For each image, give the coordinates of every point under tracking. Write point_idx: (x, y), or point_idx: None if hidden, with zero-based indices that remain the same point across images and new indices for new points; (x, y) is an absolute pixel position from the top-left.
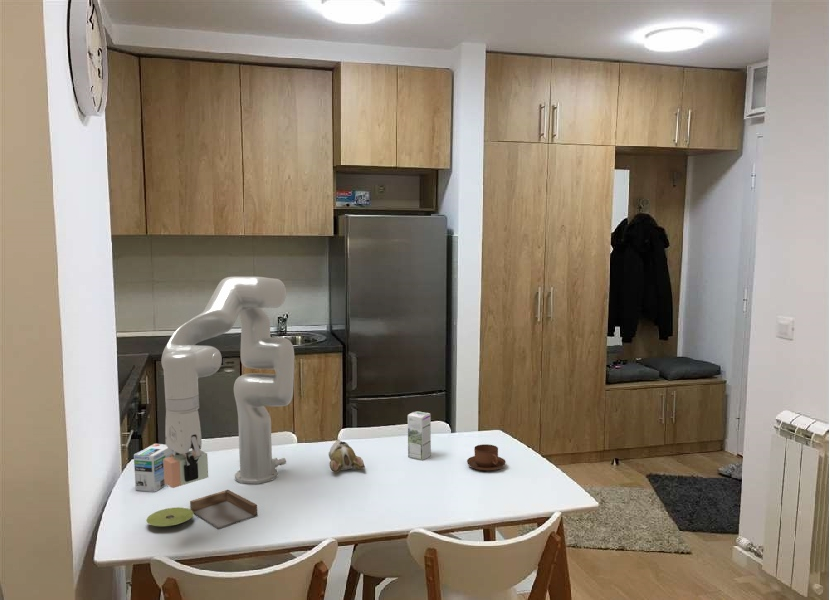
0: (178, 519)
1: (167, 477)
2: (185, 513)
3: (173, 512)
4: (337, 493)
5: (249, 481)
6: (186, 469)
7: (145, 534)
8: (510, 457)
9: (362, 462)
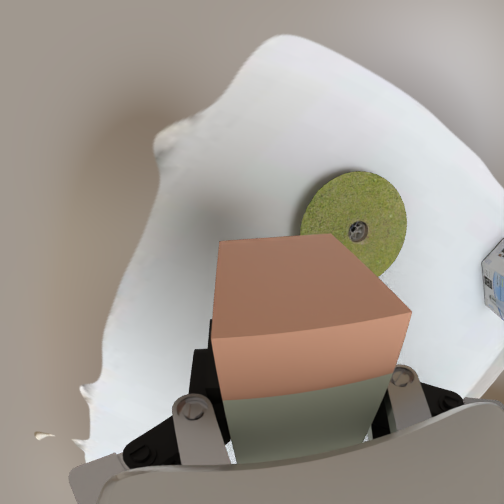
0: None
1: (294, 253)
2: None
3: (374, 248)
4: (233, 455)
5: None
6: (206, 373)
7: (338, 153)
8: None
9: None
